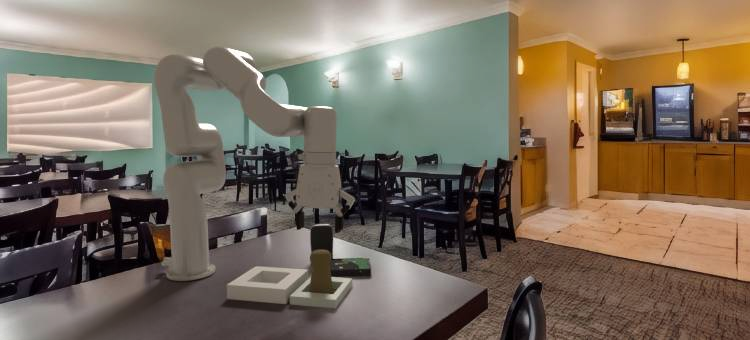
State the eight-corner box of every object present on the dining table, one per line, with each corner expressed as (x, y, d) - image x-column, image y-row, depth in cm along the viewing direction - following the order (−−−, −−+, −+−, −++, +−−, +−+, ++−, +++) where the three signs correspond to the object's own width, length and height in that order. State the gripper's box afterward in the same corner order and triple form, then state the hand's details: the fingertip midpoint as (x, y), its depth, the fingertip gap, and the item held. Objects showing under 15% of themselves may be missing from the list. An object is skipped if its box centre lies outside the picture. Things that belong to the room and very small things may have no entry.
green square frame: (290, 304, 95) (289, 296, 94) (312, 282, 108) (311, 275, 108) (335, 308, 92) (335, 299, 92) (352, 285, 106) (352, 278, 106)
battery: (332, 257, 130) (332, 222, 129) (333, 261, 126) (333, 224, 125) (310, 259, 129) (309, 223, 128) (310, 262, 125) (309, 225, 124)
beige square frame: (227, 299, 98) (226, 284, 98) (256, 278, 112) (256, 266, 111) (290, 304, 95) (289, 289, 94) (312, 282, 108) (311, 269, 108)
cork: (312, 289, 104) (311, 246, 103) (336, 290, 103) (335, 247, 102) (305, 299, 98) (304, 253, 97) (330, 300, 97) (329, 254, 96)
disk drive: (317, 280, 112) (371, 277, 113) (317, 270, 112) (371, 268, 113) (319, 267, 122) (369, 265, 123) (319, 258, 122) (369, 256, 123)
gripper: (279, 159, 96) (278, 231, 97) (350, 162, 92) (349, 237, 94) (292, 156, 103) (291, 224, 105) (359, 159, 99) (357, 229, 101)
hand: (319, 230), depth 99 cm, fingers open, 9 cm apart
